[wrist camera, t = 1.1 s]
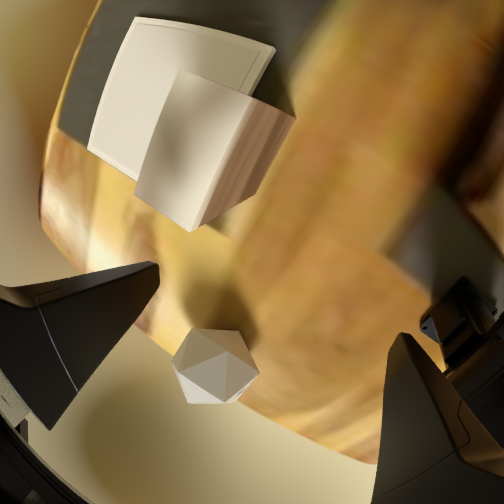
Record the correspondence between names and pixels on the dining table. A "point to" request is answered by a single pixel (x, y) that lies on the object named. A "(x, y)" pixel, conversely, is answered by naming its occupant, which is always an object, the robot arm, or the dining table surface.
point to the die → (214, 366)
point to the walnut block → (208, 150)
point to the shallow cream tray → (165, 81)
